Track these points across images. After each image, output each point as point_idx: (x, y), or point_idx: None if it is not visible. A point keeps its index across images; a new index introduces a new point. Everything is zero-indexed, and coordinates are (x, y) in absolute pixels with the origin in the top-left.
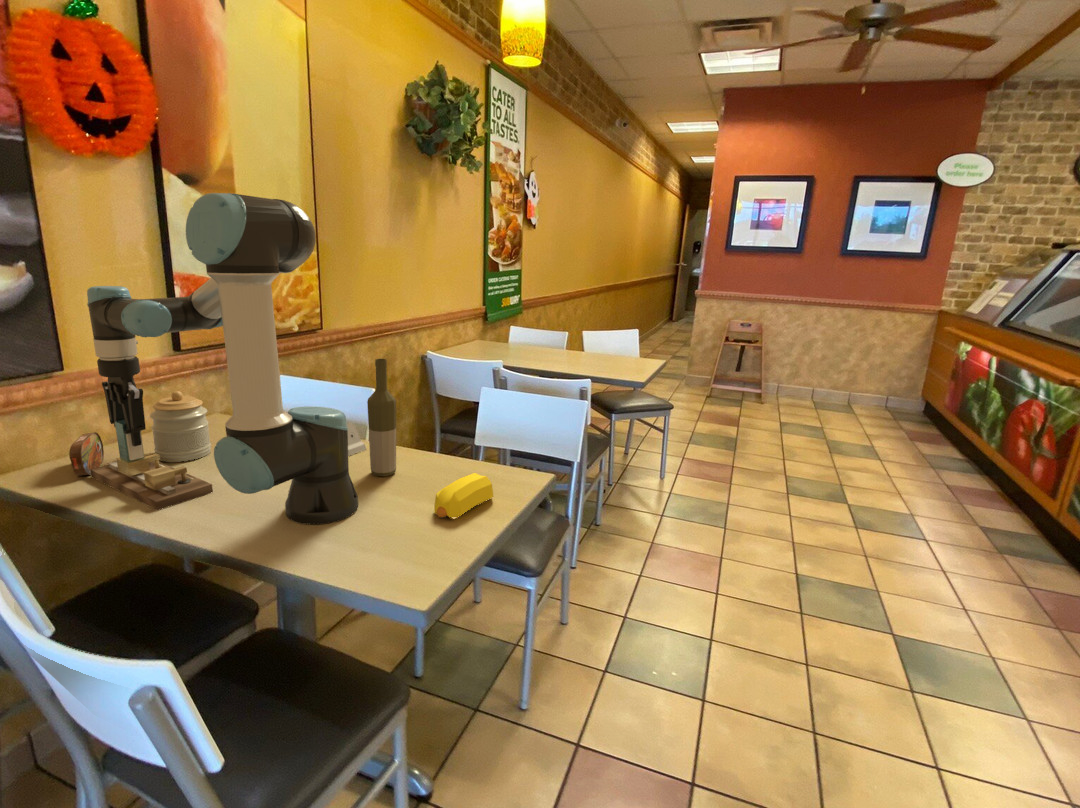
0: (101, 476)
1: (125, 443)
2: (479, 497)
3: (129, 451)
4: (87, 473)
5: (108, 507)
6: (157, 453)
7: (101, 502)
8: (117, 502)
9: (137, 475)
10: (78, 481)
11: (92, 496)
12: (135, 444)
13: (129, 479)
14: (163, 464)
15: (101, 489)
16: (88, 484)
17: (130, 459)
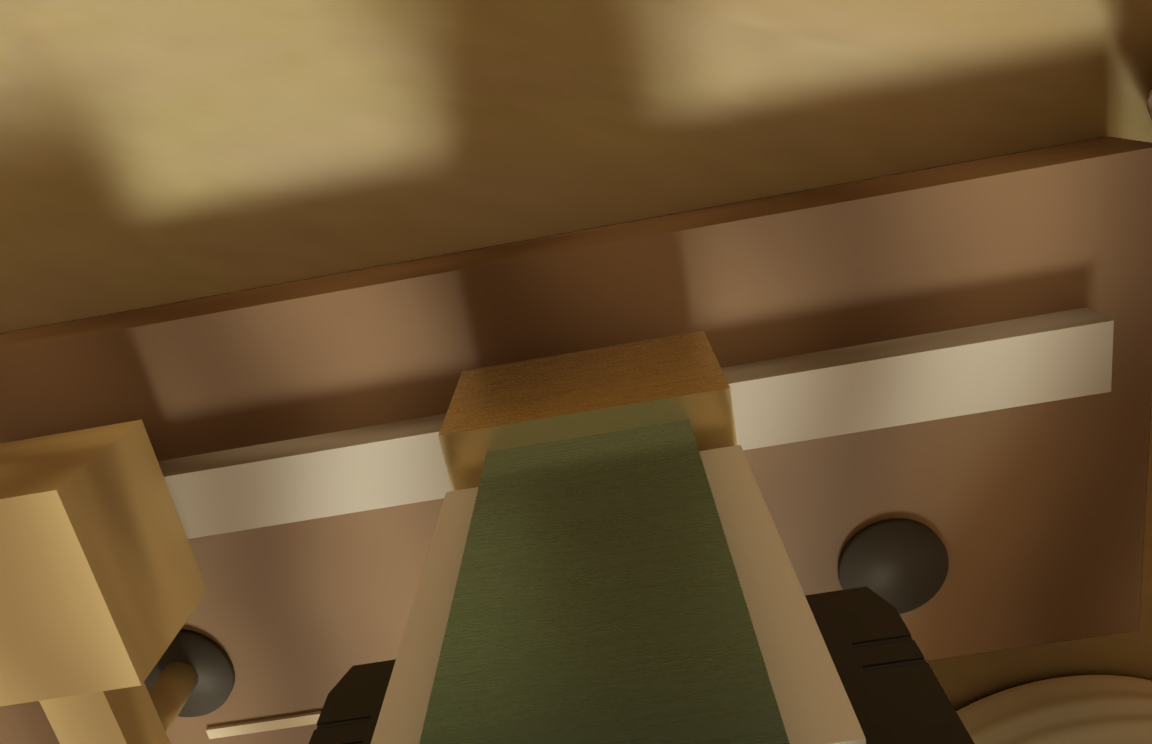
0: (891, 189)
1: (453, 615)
2: None
3: (439, 560)
4: (1149, 109)
5: (158, 65)
6: (1101, 719)
7: (328, 46)
8: (242, 158)
9: None
10: (1092, 5)
11: (548, 17)
12: (335, 704)
13: None
14: None
15: (686, 129)
16: (922, 64)
17: (458, 494)
